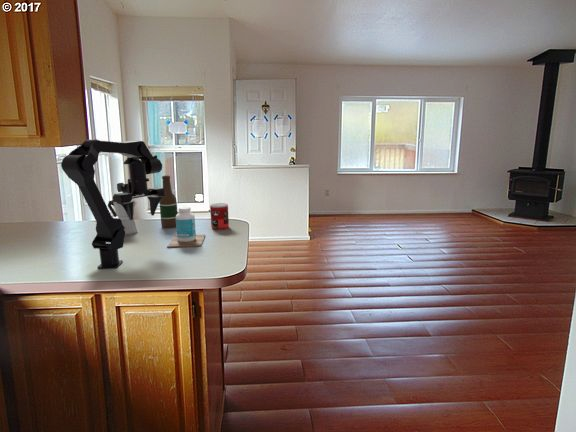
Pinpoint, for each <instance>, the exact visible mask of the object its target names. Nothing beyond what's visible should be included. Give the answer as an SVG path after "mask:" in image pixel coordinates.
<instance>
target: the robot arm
mask: <svg viewBox="0 0 576 432" xmlns="http://www.w3.org/2000/svg"><path fill="white" fill-rule="evenodd" d="M100 153H107V154H108V153H110V154H120V155H121V156H124V157H127V158H126V160H124V162H123V165H128V173H129V178H128V179H127V183H124V182H119V183H117V184H116V189H117V190H116V191H117V192H118V193H114V194H113V196H112V200H113V202H117V204H121V205H122V206H123V208H124V209H125V211H126V213H127V215H128V217H129V219H130V220H133V218H134V215H133V202H131V200H135V199H139V198H143V197H147V200H148V201H149V210H150V215H151V216H155V213H156V211H157V208H158V207H159V205H160V200H161V198H163V197H161V196H165V190H164V189H163V187H156V186H155V187H150V188H148V182H149V181H150V178H148V177H147V175H152V174H158V173H161V172H162V169H163V163H162V161H161V160H160V159H159V158H158V155H156V154H155V155H154V154H152V152H151V151H150V150H149V147H147V145H146V142H145V141H143V140H125V141H121V142H119V141H109V140H100V139H85V140H84V141H83V142H82V143H81V144H80V145H79V146H77V147H76V148H74V149H73V150H71V152H69V153H68V155H65V156H64V157H63V158H62V162H61V164H60V167H61V170H62V171H63V172H64V173H65V174H66V176H67V177H68V179H70V180H71V181H72V182H74V183H75V185H77V187H78V189H79V191H80V192H81V194H82V196H83V199H84V200H85V202H86V204H87V207H88V208H89V210H90V212H91V214H92V216H93V217H94V219H95V222H96V224H95V231H96V236H95V237H94V238H93V240H92V242H91V246H92V248H93V249H98V251H99V258H100V264H99V265H98V266H97V269H113V268H114V269H115V268H116V269H117V268H119V266H120V265H121V264H122V263H123V261H124V260H123V259H120V257H119V249H122V248H123V247H124V243H125V237H126V235H125V230H124V229H125V227H124V226H123V224H122V221H121V219H118V217H114V216H113V215H112V214H111V211H110V209H109V208H108V205H107V203H106V202H105V200H104V197H103V196H102V194H101V191H100V190H99V188H98V185H97V183H96V180H95V174H96V170H95V165H96V163H98V161H99V154H100Z"/></svg>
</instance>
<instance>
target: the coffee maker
mask: <svg viewBox="0 0 576 432" xmlns="http://www.w3.org/2000/svg"><path fill="white" fill-rule="evenodd" d="M131 202H133V216H135V207H136V204H137V202H136V201H135V199H132V200H131ZM113 207H114V208H113ZM107 208H108V210H109V212H110V213H112V214H111V215H112V216H113V218H118V219H121V221H122V224H123V226H124V227H125V229H124V230H125V236H131V235H135V234H137V233H138V229H137V225H136V221H135V218H134V217H133V220H130V219H129V217H128V215H127V213H126V211H125V209H124V208H123V206H122V205H121V204H117V202H113V199H112V200H109V201H108V202H107Z"/></svg>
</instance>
